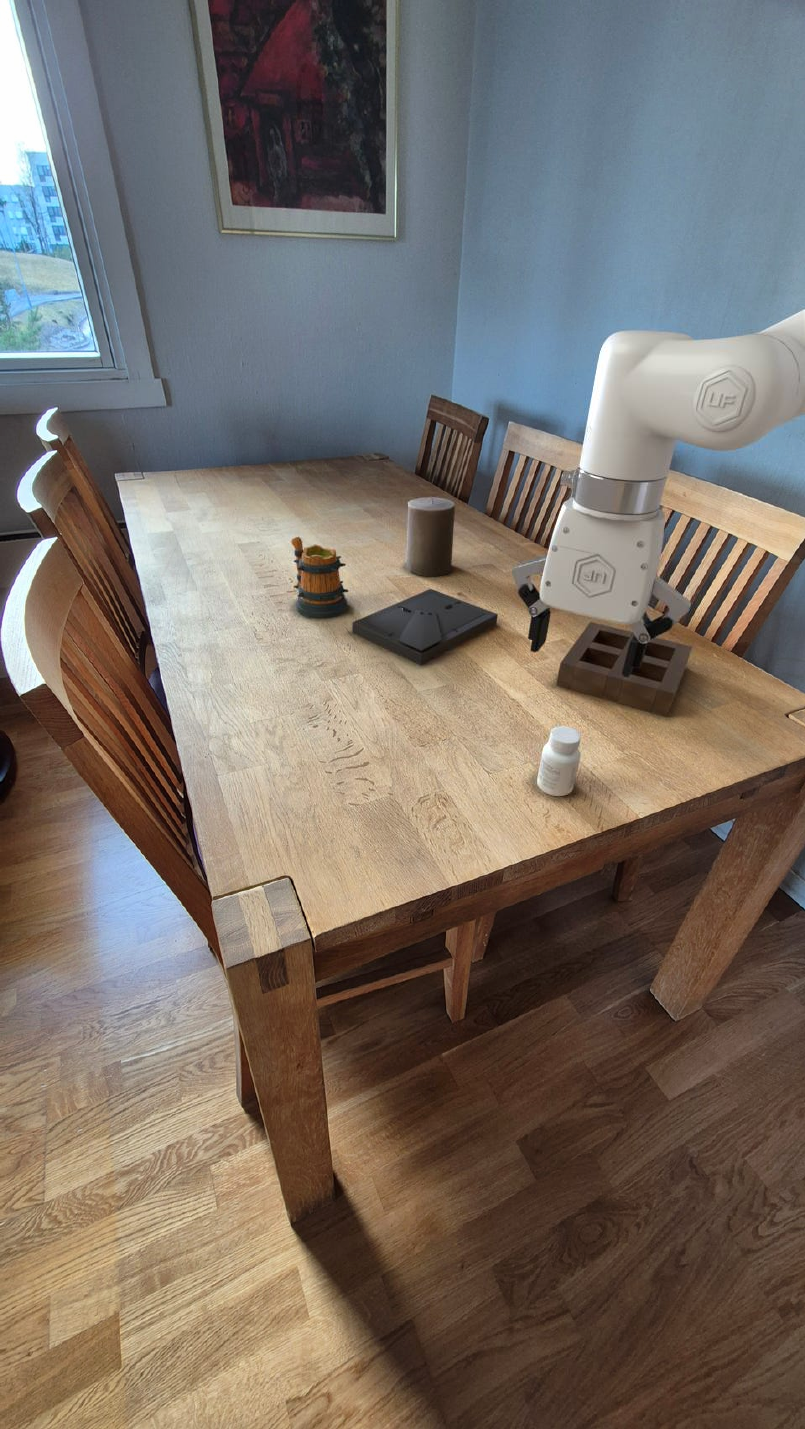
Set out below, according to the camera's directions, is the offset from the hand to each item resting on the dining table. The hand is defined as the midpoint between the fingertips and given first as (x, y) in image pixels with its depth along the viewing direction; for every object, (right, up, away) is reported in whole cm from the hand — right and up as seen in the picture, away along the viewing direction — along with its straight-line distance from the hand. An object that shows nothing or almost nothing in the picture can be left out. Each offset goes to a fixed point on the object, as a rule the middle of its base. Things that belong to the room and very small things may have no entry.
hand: (581, 658), depth 66 cm
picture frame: (-15, +9, +45) cm, 48 cm away
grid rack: (+16, 0, +33) cm, 36 cm away
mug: (-35, +15, +52) cm, 64 cm away
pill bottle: (0, -15, +11) cm, 18 cm away
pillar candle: (-13, +25, +69) cm, 74 cm away
